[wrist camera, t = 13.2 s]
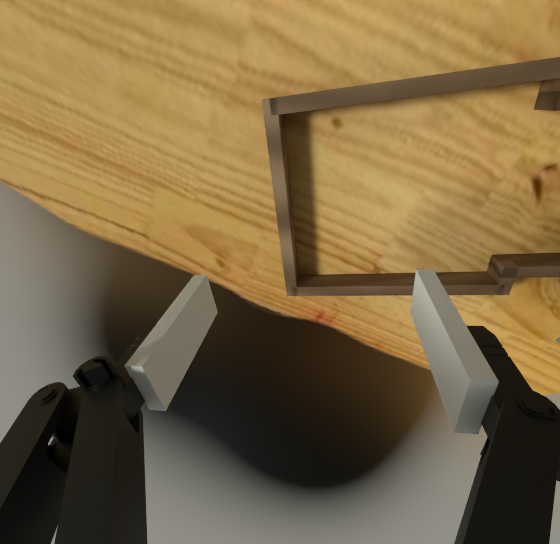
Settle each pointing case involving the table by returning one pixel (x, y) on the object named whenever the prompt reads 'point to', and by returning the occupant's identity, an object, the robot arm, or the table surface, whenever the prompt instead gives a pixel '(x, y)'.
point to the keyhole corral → (552, 96)
